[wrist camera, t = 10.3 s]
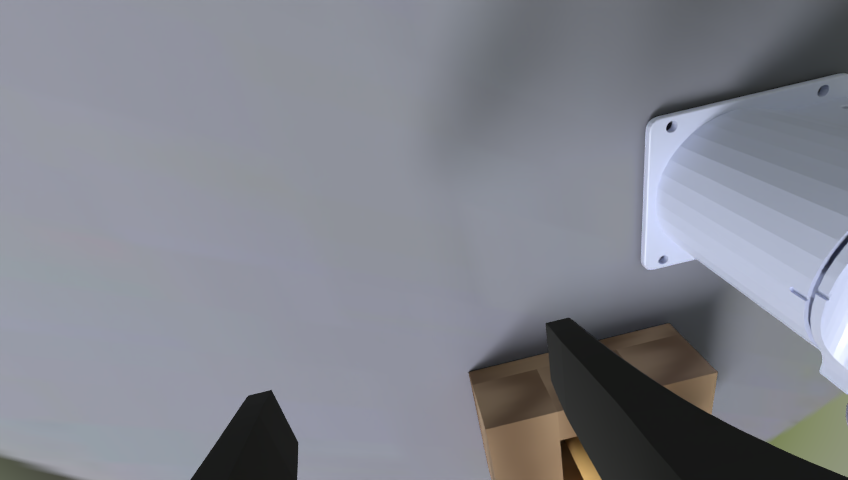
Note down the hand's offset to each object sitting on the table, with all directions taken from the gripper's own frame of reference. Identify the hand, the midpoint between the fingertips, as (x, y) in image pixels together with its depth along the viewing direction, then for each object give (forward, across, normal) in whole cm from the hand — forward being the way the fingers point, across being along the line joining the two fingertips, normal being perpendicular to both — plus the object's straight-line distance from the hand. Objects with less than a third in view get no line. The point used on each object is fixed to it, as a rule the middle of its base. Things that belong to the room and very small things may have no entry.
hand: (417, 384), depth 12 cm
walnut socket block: (+10, -8, +15) cm, 20 cm away
